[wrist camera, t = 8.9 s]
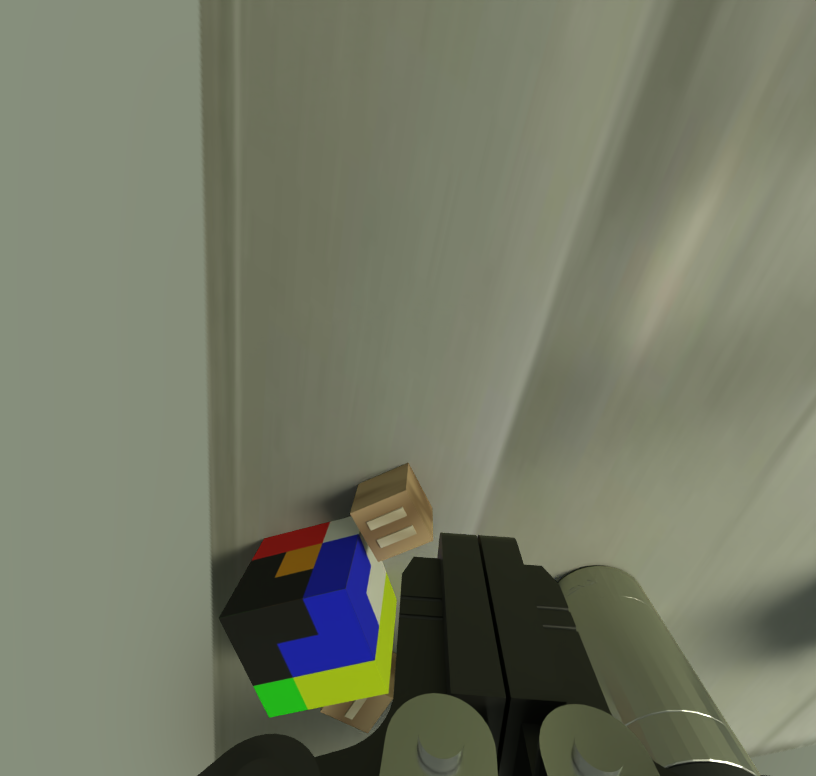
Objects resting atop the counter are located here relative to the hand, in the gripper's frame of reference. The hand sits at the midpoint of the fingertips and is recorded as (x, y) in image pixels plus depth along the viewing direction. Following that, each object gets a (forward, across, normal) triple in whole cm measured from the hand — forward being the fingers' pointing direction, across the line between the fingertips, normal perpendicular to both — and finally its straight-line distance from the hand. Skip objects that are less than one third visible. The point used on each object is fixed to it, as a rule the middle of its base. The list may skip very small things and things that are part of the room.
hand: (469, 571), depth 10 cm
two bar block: (+29, +2, +15) cm, 33 cm away
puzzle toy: (+29, +8, +24) cm, 39 cm away
